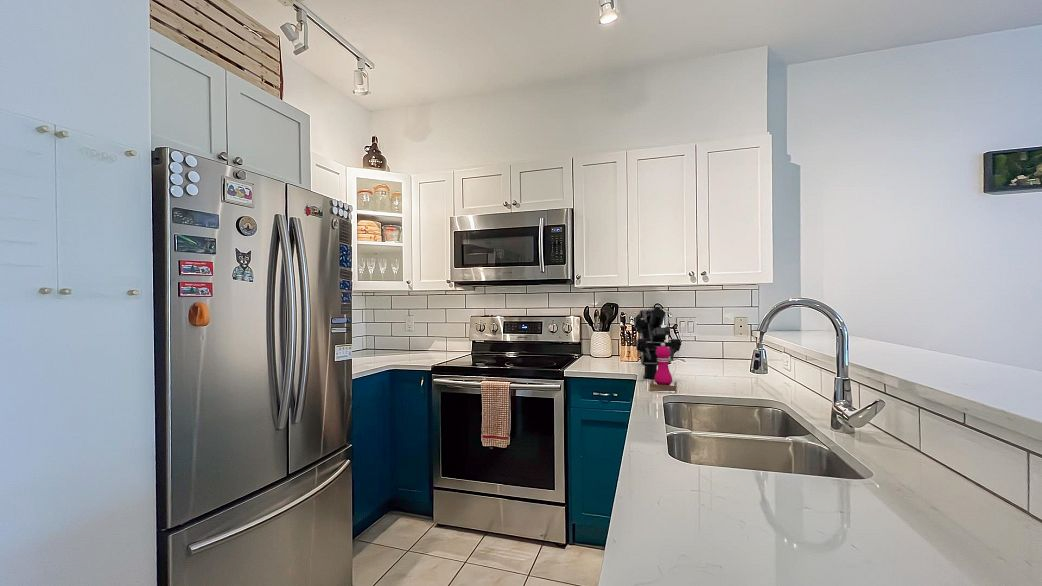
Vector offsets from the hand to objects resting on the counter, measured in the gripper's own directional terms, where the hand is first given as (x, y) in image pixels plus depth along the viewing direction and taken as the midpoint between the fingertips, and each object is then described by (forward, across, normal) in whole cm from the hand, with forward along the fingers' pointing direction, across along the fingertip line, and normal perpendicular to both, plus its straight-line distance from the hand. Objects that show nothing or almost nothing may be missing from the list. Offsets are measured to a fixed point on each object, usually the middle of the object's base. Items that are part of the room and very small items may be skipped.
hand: (661, 360), depth 189 cm
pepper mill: (+11, 0, +6) cm, 13 cm away
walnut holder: (+11, 0, +6) cm, 13 cm away
